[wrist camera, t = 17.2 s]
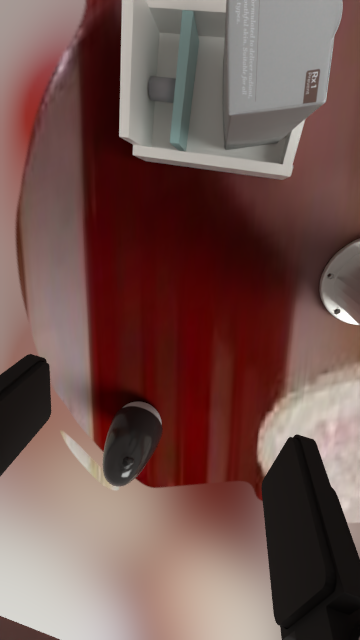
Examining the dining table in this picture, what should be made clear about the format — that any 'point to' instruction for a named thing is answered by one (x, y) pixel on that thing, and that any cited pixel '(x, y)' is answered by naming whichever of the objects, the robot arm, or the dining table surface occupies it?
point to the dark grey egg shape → (130, 442)
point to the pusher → (180, 82)
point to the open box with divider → (207, 102)
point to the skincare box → (275, 66)
